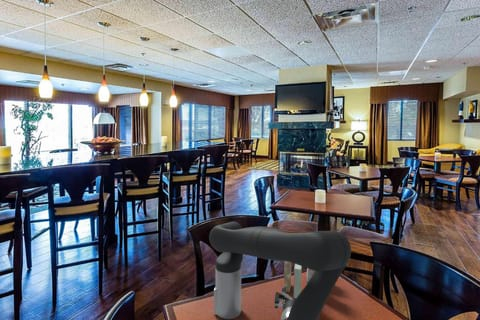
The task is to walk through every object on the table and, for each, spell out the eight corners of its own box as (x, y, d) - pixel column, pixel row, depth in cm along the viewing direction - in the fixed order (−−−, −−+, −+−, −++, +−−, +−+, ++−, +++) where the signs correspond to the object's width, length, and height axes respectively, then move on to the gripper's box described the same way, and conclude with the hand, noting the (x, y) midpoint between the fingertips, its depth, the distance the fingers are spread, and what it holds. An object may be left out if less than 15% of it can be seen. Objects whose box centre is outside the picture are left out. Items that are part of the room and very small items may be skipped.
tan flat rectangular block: (283, 291, 124) (284, 256, 122) (285, 284, 130) (285, 250, 128) (289, 292, 123) (290, 257, 121) (290, 285, 129) (291, 251, 127)
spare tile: (293, 306, 114) (294, 268, 112) (294, 297, 120) (295, 261, 118) (299, 307, 114) (300, 269, 112) (300, 298, 119) (301, 262, 117)
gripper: (317, 311, 93) (317, 283, 109) (271, 304, 97) (277, 278, 112) (316, 333, 94) (316, 303, 110) (270, 325, 98) (277, 297, 113)
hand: (296, 290), depth 111 cm, fingers open, 8 cm apart
